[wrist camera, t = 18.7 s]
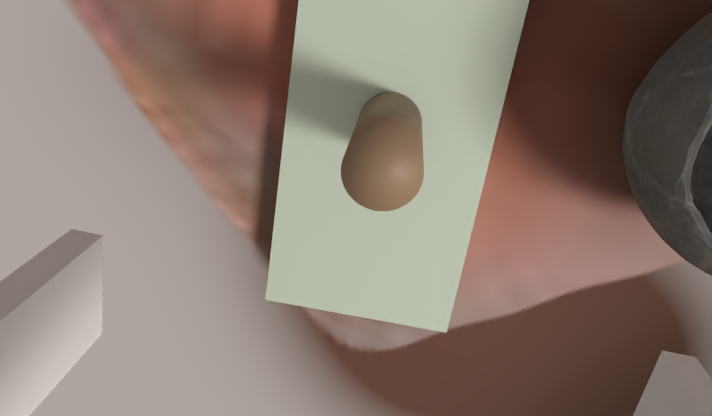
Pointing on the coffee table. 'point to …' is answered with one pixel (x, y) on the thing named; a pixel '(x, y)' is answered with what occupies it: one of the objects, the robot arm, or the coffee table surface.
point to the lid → (388, 152)
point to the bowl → (675, 145)
